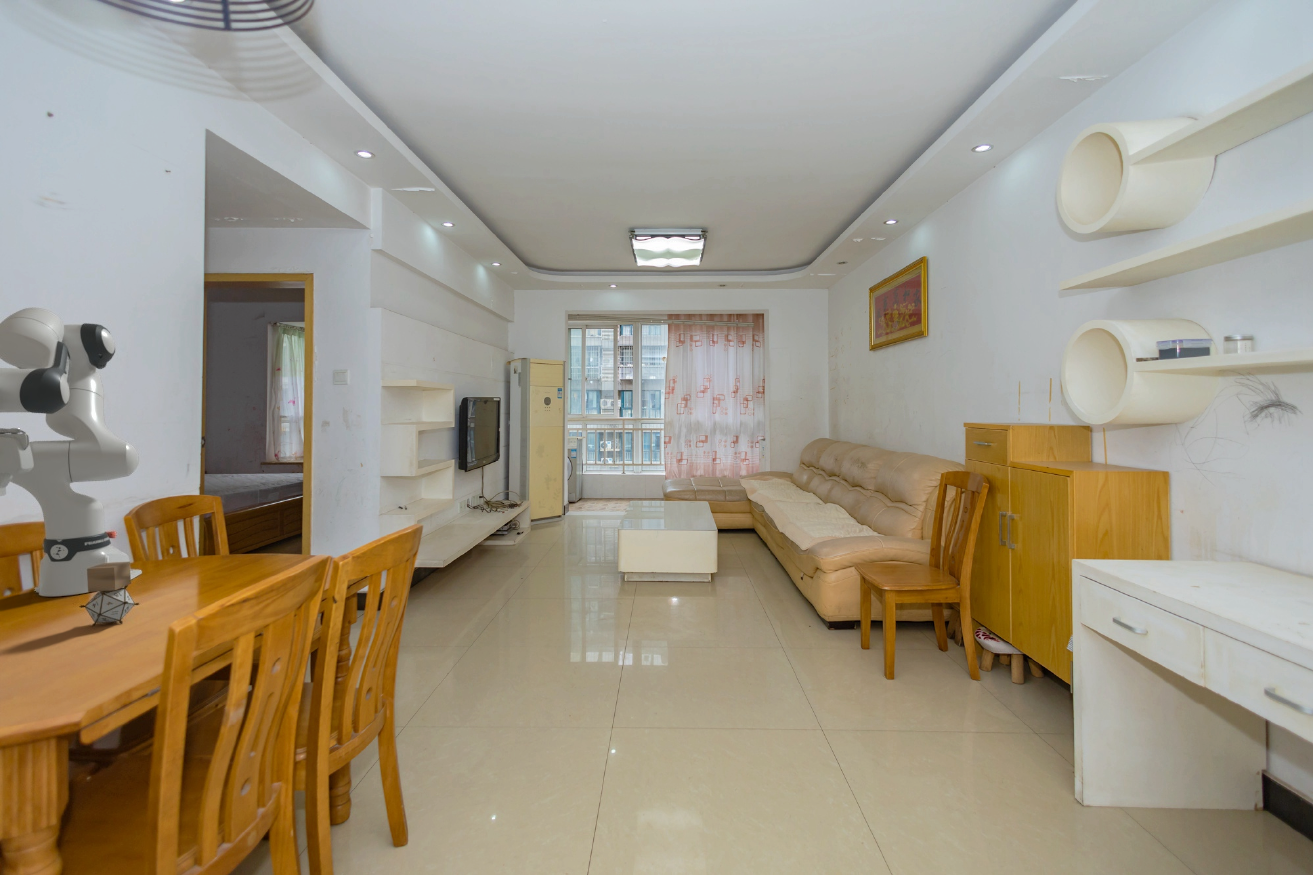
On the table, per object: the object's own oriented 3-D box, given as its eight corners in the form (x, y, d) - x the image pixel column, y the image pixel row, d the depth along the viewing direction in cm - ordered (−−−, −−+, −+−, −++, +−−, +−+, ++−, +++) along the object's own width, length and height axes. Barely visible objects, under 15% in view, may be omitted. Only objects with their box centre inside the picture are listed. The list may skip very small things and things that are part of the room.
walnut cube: (104, 585, 131) (103, 562, 131) (130, 583, 132) (129, 561, 132) (88, 591, 126) (86, 568, 126) (115, 590, 127) (114, 567, 127)
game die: (111, 642, 128) (93, 615, 122) (82, 626, 129) (63, 598, 123) (153, 611, 135) (138, 584, 129) (125, 596, 136) (108, 568, 130)
